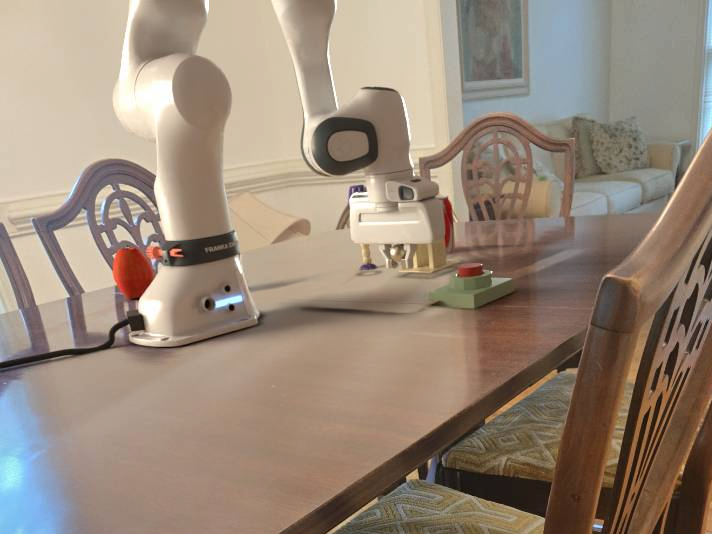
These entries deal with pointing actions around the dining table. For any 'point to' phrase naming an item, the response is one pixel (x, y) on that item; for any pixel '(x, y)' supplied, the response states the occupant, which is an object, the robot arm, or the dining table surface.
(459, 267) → the button
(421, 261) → the bracket
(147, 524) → the dining table surface
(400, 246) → the lever
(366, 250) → the toy lamp
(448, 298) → the switch block
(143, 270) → the apple
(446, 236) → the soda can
